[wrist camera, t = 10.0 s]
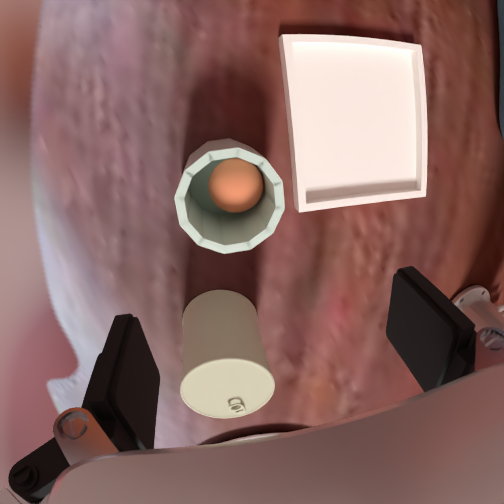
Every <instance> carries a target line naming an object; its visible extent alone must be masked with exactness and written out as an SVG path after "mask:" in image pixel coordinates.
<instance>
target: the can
mask: <svg viewBox="0 0 504 504" xmlns="http://www.w3.org/2000/svg"><path fill="white" fill-rule="evenodd" d="M182 325H183V349H182V371H181V384H180V394H181V397H182V399H183V401H184V402H185V403H186V404H187V406H189V407H190V408H191V409H192V410H194V411H196V412H198V413H200V414H202V415H205V416H209V417H214V418H234V417H240V416H244V415H247V414H250V413H252V412H254V411H256V410H258V409H259V408H261V407H262V406H263V405H265V404H266V403H267V402H268V401H269V399H270V398H271V396H272V394H273V392H274V389H275V381H274V377H273V375H272V373H271V369H270V366H269V363H268V359H267V356H266V352H265V348H264V345H263V341H262V337H261V333H260V329H259V325H258V317H257V312H256V309H255V307H254V306H253V304H252V303H251V302H250V301H249V300H248V299H247V298H246V297H244V296H243V295H241V294H239V293H237V292H233V291H229V290H213V291H208V292H205V293H203V294H201V295H199V296H197V297H196V298H194V299H193V300H192V301H191V302H190V303H189V304H188V305H187V307H186V309H185V311H184V313H183V318H182Z"/></svg>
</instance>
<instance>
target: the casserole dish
mask: <svg viewBox="0 0 504 504" xmlns="http://www.w3.org/2000/svg"><path fill="white" fill-rule="evenodd" d="M497 8H498V23H499V39H500V94H499V121H500V128H501V133H502V137H503V140H504V0H497Z"/></svg>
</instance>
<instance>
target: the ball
mask: <svg viewBox="0 0 504 504" xmlns="http://www.w3.org/2000/svg"><path fill="white" fill-rule="evenodd" d="M208 190H209V194H210V196H211V198H212V200H213V202H214V203H215V204H216V205H217V206H218V207H220V208H221V209H223V210H225V211H228V212H232V213H240V212H244V211H247V210H249V209H250V208H252V207H253V206H254V205H256V203H257V202H258V201H259V199H260V198H261V195H262V192H263V178H262V175H261V173H260V171H259V170H258V168H257V167H256V166H255V165H254V164H252V163H251V162H248V161H246V160H243V159H241V158H231V159H227V160H225V161H223V162H221V163H219V164H218V165H217V166H216V167H215V168H214V169H213V171H212V173H211V175H210V177H209V182H208Z"/></svg>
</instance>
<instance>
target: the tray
mask: <svg viewBox="0 0 504 504" xmlns="http://www.w3.org/2000/svg"><path fill="white" fill-rule="evenodd" d="M278 41H279V49H280V57H281V66H282V74H283V83H284V92H285V102H286V112H287V122H288V132H289V143H290V155H291V167H292V179H293V193H294V207H295V208H296V209H297V211H298V212H305V211H313V210H320V209H327V208H335V207H342V206H350V205H358V204H366V203H374V202H382V201H391V200H399V199H408V198H417V197H426V182H427V107H426V90H425V77H424V66H423V57H422V48H421V45H417V44H411V43H405V42H398V41H391V40H384V39H375V38H366V37H354V36H340V35H316V34H282V35H281V36H280V37H279V38H278Z"/></svg>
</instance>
